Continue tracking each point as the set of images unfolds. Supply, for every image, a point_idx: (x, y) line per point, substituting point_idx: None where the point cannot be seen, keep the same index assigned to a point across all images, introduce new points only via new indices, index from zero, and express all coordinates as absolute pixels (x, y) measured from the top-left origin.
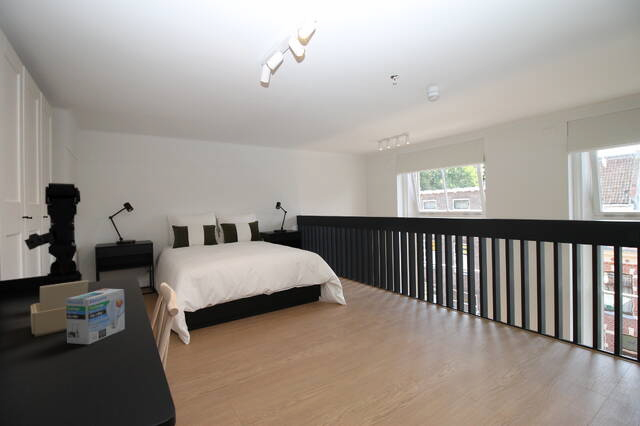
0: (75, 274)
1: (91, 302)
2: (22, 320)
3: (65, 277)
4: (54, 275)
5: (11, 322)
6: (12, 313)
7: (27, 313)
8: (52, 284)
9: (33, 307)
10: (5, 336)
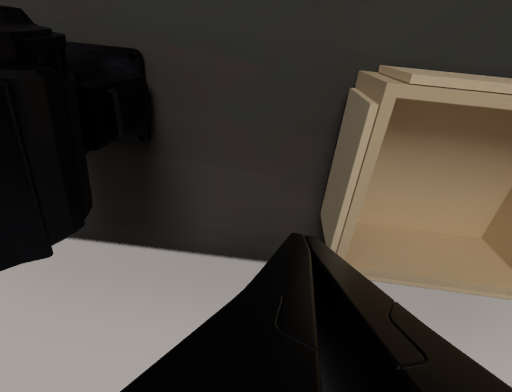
0: (39, 84)
1: None
2: (218, 226)
3: (66, 152)
4: (54, 224)
5: (217, 246)
6: (85, 227)
7: (121, 202)
8: (91, 198)
9: (410, 281)
10: None
